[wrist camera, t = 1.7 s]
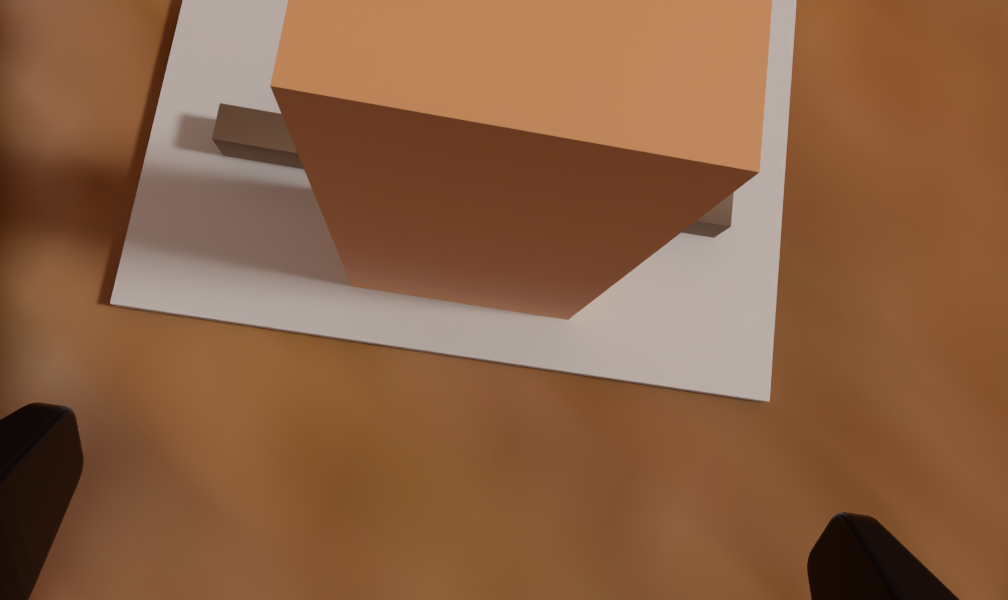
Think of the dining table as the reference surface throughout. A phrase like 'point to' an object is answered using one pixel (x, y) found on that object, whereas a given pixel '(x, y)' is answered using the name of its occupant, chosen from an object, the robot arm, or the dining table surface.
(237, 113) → the long brown bar
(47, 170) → the dining table surface
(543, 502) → the dining table surface
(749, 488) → the dining table surface
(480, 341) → the mat
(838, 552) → the robot arm
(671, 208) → the orange block
